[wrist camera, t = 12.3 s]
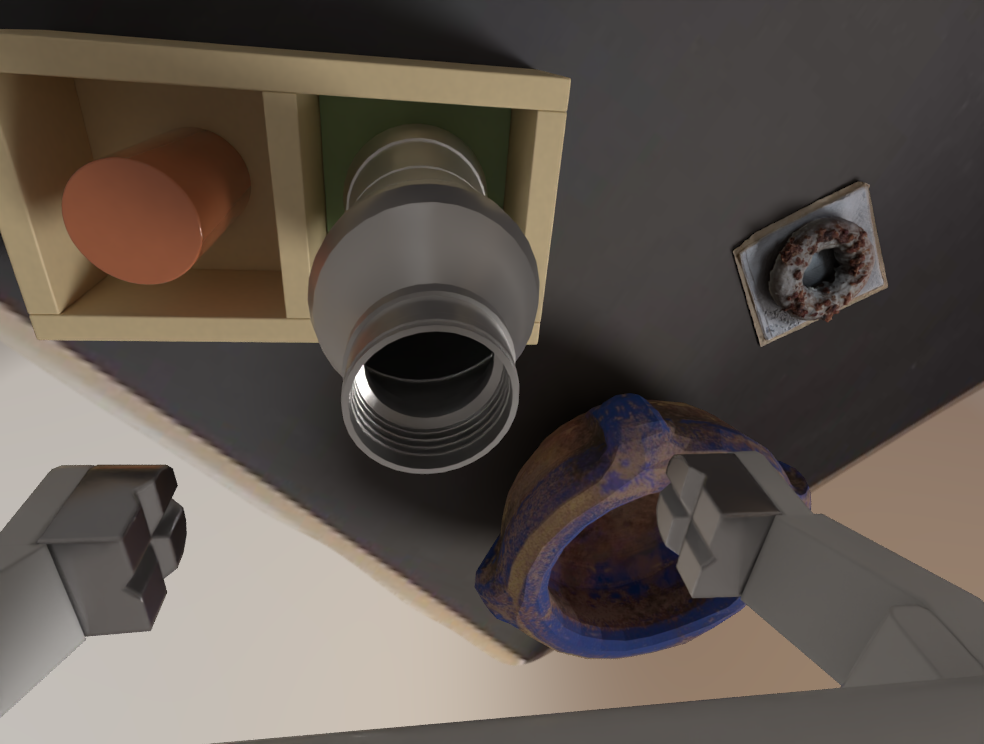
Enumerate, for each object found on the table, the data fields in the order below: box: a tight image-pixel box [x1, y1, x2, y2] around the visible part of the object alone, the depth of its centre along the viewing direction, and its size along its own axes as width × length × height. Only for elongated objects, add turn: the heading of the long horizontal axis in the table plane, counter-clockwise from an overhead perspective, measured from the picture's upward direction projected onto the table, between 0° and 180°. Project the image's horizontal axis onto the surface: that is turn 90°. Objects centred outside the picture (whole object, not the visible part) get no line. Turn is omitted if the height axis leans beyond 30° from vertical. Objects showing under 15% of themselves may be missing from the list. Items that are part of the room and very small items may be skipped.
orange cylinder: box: [61, 127, 251, 285], centre depth 24 cm, size 5×5×8 cm
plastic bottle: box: [308, 124, 540, 474], centre depth 20 cm, size 6×7×20 cm
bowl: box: [475, 393, 811, 659], centre depth 37 cm, size 18×18×10 cm
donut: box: [733, 181, 888, 347], centre depth 35 cm, size 8×8×2 cm
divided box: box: [0, 29, 571, 345], centre depth 26 cm, size 11×22×7 cm, turn 86°
